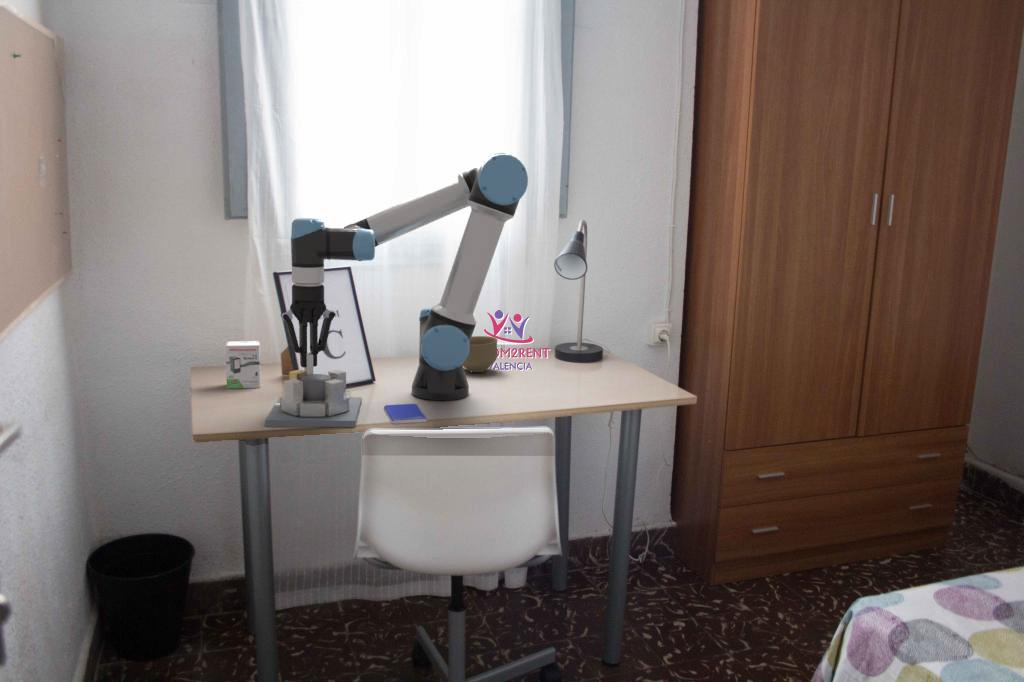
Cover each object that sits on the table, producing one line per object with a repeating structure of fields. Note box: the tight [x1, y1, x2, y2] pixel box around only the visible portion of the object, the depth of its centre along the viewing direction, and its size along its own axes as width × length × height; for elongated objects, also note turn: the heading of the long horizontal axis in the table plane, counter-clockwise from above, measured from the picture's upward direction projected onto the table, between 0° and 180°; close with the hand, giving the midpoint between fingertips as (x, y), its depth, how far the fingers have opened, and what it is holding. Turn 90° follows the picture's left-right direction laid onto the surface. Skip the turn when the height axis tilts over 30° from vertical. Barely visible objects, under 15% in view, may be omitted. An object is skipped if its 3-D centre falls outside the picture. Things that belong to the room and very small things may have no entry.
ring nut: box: [279, 369, 352, 417], centre depth 195 cm, size 16×16×8 cm
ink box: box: [225, 340, 261, 390], centre depth 216 cm, size 9×5×12 cm, turn 107°
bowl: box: [463, 335, 498, 373], centre depth 243 cm, size 13×13×10 cm
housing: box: [264, 373, 363, 428], centre depth 195 cm, size 20×20×9 cm
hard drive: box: [383, 403, 428, 425], centre depth 198 cm, size 2×8×12 cm
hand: (308, 379), depth 200 cm, fingers closed
